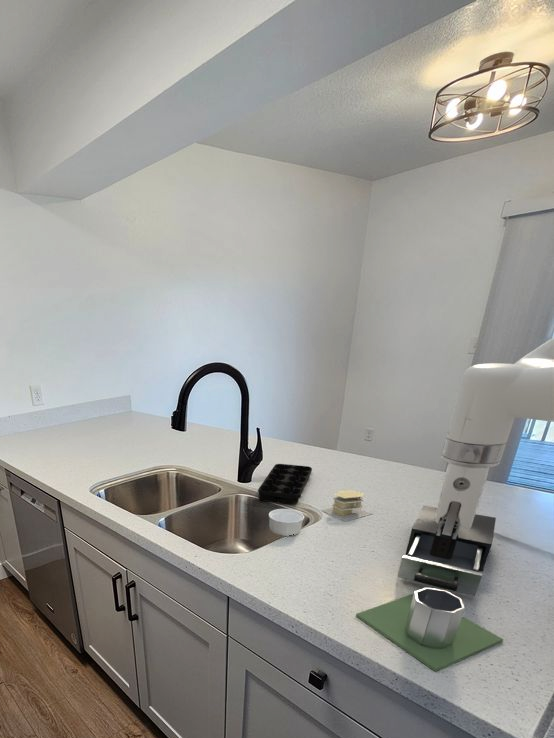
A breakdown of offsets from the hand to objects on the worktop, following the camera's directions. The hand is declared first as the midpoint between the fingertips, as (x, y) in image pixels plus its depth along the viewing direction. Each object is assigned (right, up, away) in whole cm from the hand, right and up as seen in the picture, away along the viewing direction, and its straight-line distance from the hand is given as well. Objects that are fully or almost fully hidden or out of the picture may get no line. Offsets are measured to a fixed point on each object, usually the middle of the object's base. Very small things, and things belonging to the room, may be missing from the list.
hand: (440, 555), depth 75 cm
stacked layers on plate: (+6, +10, +48) cm, 50 cm away
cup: (-2, -14, 0) cm, 14 cm away
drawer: (+10, -5, +16) cm, 19 cm away
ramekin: (-14, +5, +41) cm, 43 cm away
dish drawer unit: (+20, +1, +27) cm, 34 cm away
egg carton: (-5, +19, +68) cm, 71 cm away
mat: (-1, -13, +3) cm, 13 cm away
